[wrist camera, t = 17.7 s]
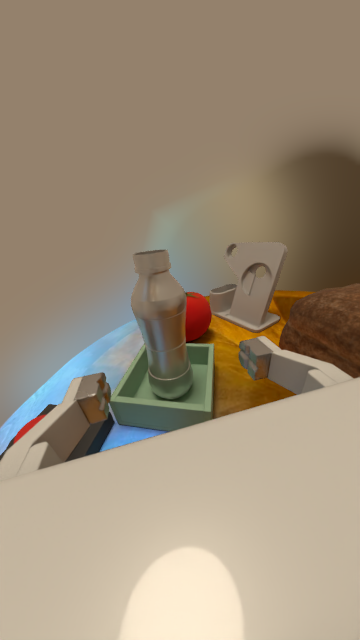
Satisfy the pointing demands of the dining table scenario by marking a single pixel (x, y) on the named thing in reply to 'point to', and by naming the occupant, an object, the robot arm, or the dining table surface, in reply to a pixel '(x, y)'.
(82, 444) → the block
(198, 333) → the tomato
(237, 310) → the phone holder
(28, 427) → the button
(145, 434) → the dining table surface
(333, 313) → the bread
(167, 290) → the metal bottle
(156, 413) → the tray
